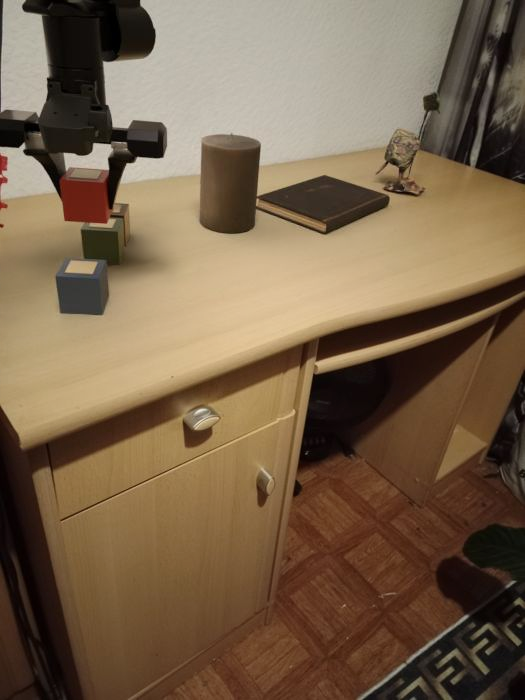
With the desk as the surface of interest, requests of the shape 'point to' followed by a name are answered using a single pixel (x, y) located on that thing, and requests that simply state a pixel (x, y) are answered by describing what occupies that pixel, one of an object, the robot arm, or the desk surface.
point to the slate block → (82, 286)
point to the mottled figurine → (407, 150)
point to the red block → (85, 195)
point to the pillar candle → (229, 182)
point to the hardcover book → (322, 203)
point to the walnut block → (123, 212)
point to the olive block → (104, 240)
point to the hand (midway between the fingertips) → (89, 207)
